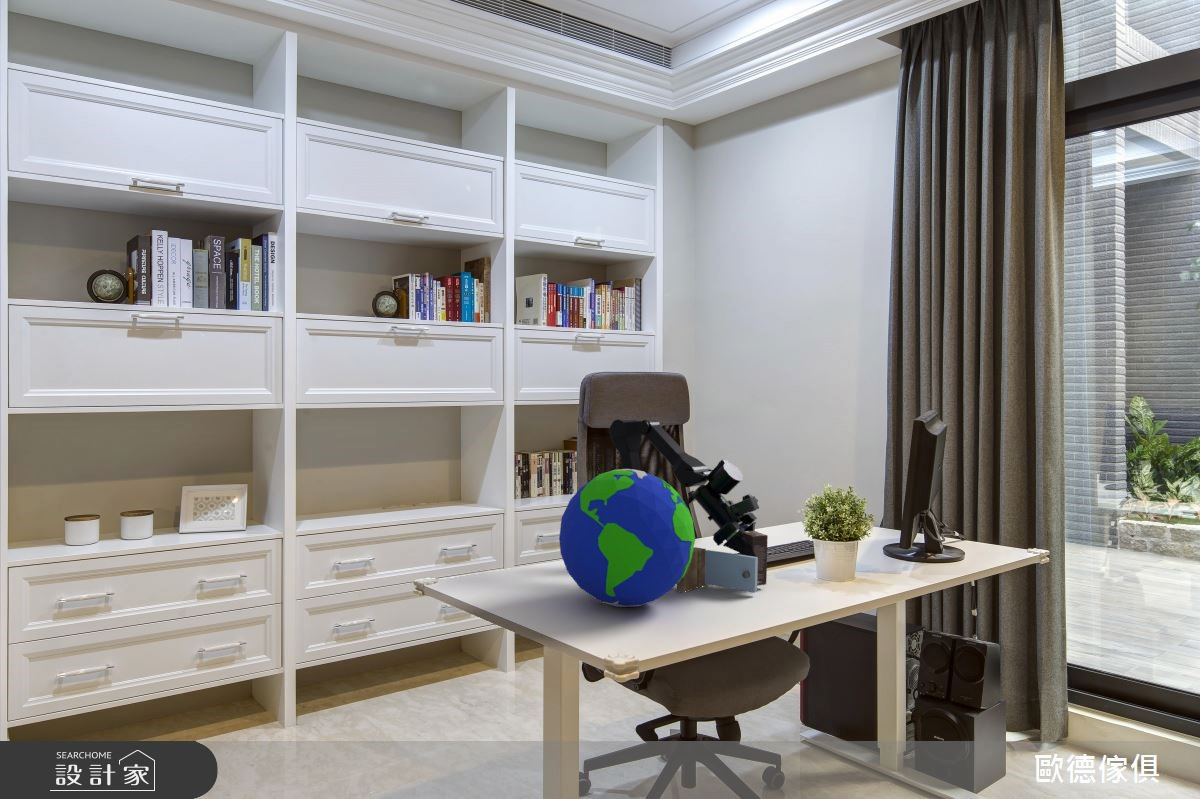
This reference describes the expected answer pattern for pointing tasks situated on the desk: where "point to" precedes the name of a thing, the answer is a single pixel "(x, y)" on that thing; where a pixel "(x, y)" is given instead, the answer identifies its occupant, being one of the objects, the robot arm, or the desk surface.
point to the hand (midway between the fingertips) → (758, 555)
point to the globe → (626, 537)
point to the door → (731, 570)
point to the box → (758, 553)
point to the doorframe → (694, 572)
